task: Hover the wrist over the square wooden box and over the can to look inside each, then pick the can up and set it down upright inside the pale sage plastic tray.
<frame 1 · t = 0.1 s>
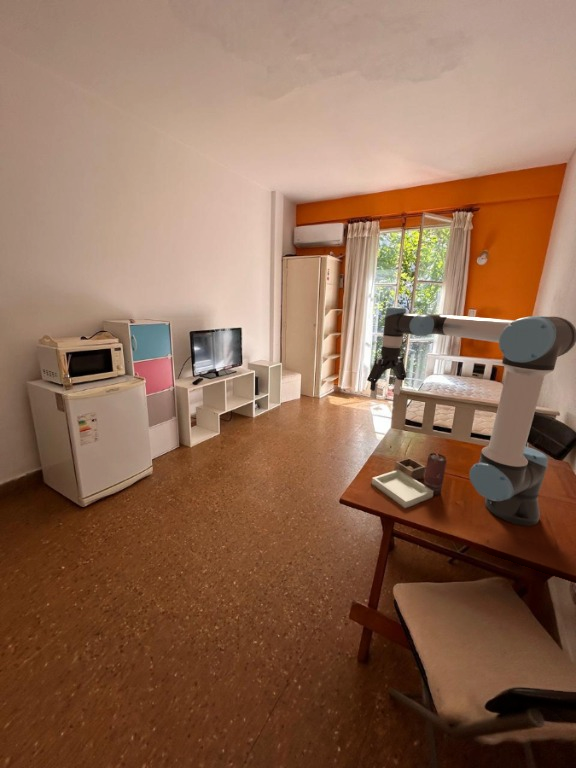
hand: (385, 395, 135), 28 cm above the table, fingers open, 13 cm apart
tray: (401, 490, 117), on the table
can: (431, 490, 117), on the table
square wooden box: (408, 475, 127), on the table
cork ball: (408, 473, 127), point 1 cm above the table, touching square wooden box
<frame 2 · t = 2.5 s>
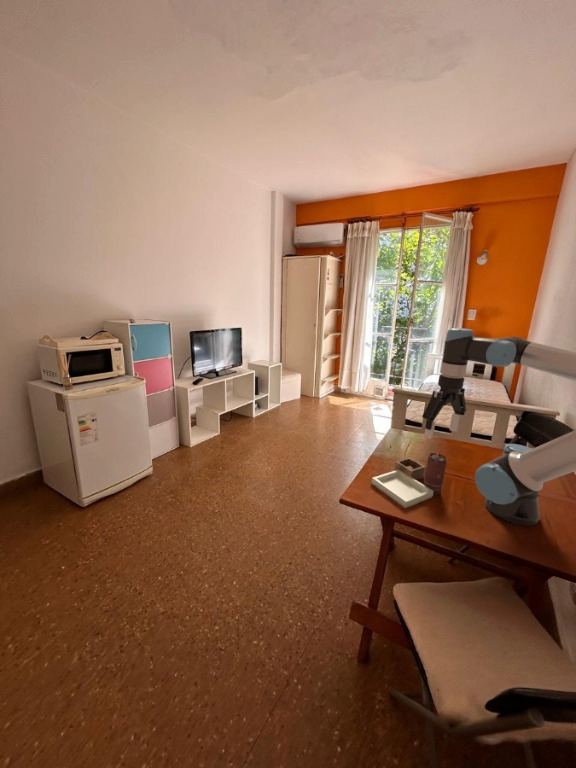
hand: (441, 434, 111), 23 cm above the table, fingers open, 13 cm apart
nothing on the table moved.
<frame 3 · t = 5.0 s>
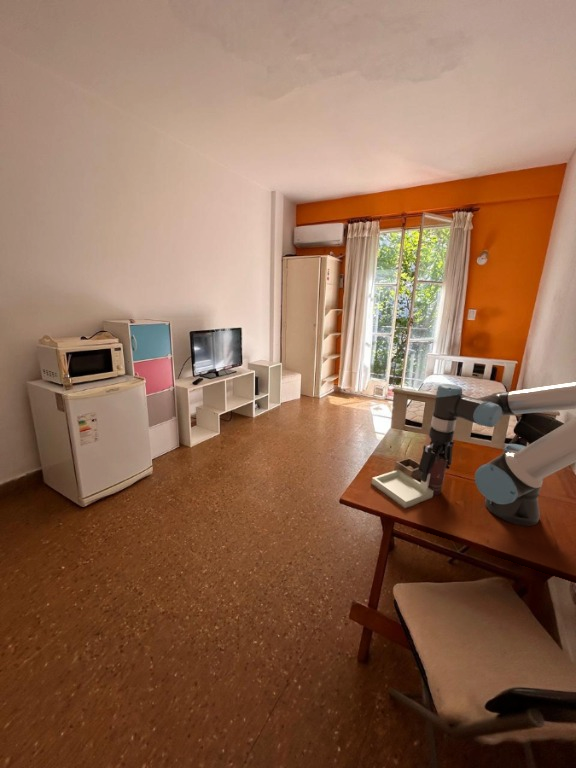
hand: (431, 485, 117), 2 cm above the table, fingers open, 8 cm apart
nothing on the table moved.
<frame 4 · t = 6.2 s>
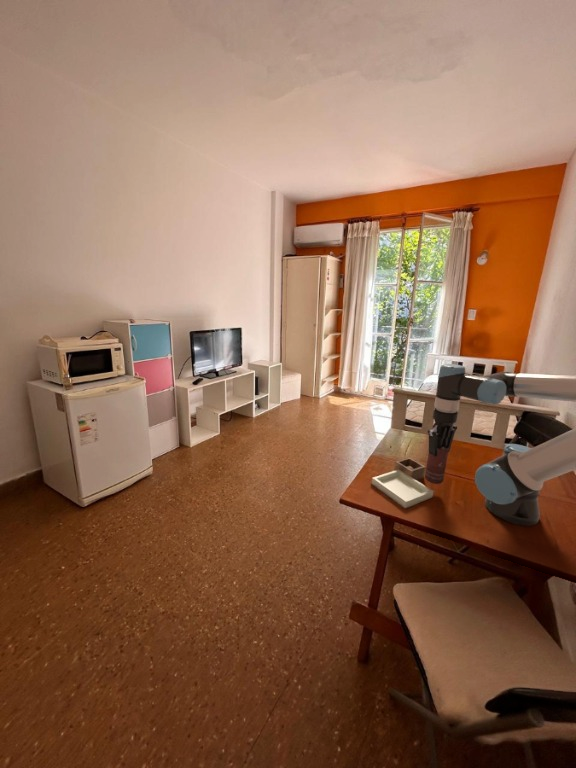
hand: (436, 471, 114), 8 cm above the table, fingers closed
can: (433, 480, 116), point 4 cm above the table, touching gripper, hand
everything else where it was.
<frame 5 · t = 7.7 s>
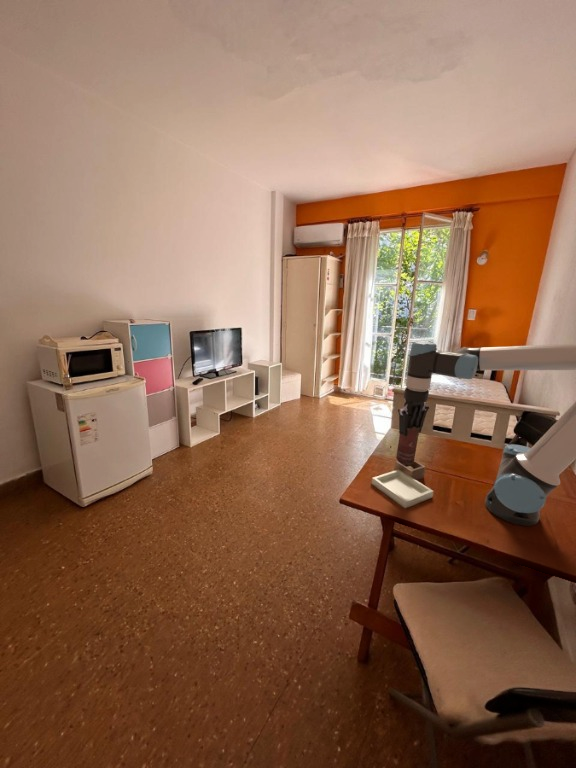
hand: (407, 451, 112), 16 cm above the table, fingers closed
can: (404, 460, 114), point 12 cm above the table, touching gripper, hand
everything else where it was.
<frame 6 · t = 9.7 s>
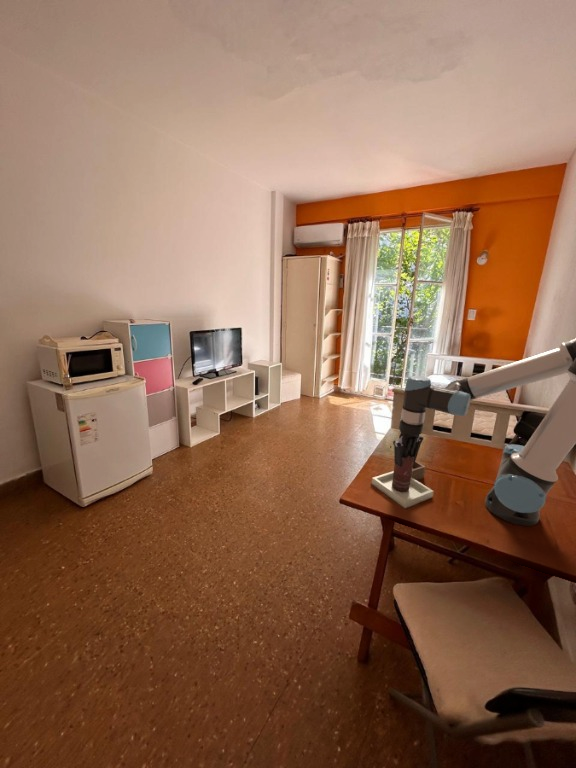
hand: (401, 480, 116), 4 cm above the table, fingers closed
can: (400, 487, 117), resting on tray, touching hand
everything else where it was.
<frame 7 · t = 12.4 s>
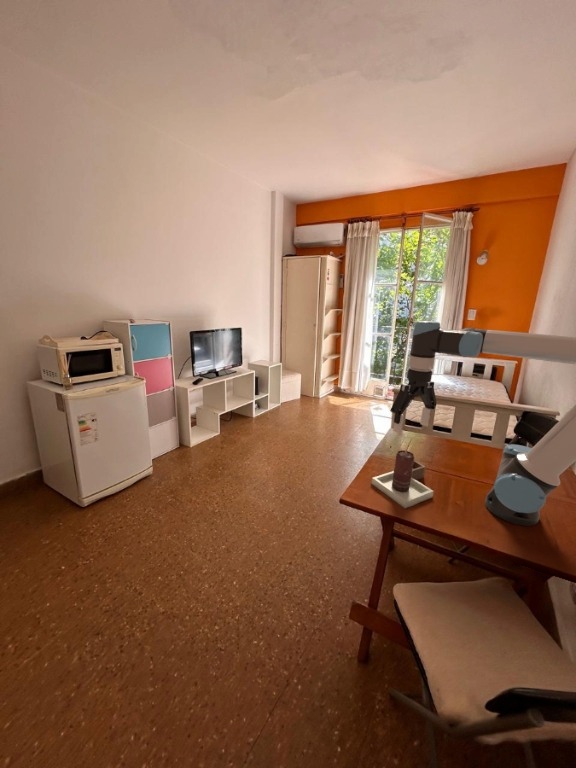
hand: (411, 428, 110), 25 cm above the table, fingers open, 13 cm apart
can: (400, 488, 117), resting on tray
everything else where it was.
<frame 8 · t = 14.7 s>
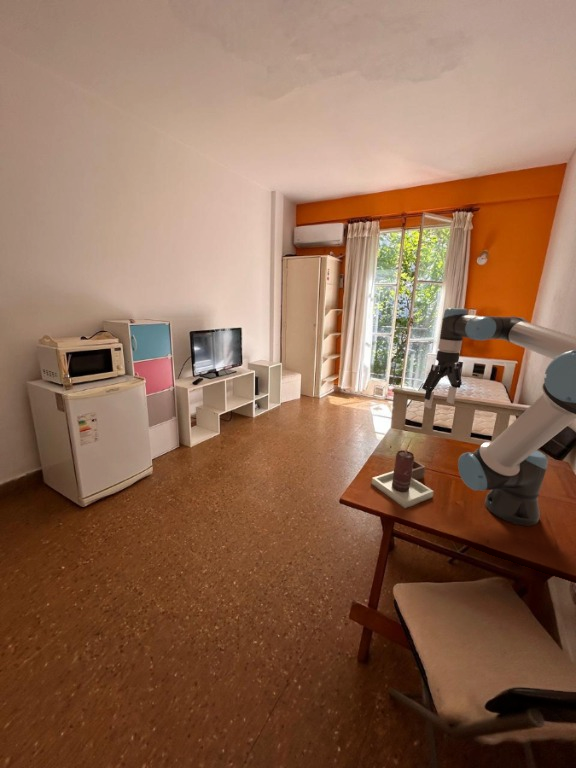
hand: (439, 405, 123), 29 cm above the table, fingers open, 13 cm apart
nothing on the table moved.
at the end: can inside the target area on the tray (0.9 cm from its centre), point 0.4 cm above the tray's base; can tilted 0°; can touching tray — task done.
